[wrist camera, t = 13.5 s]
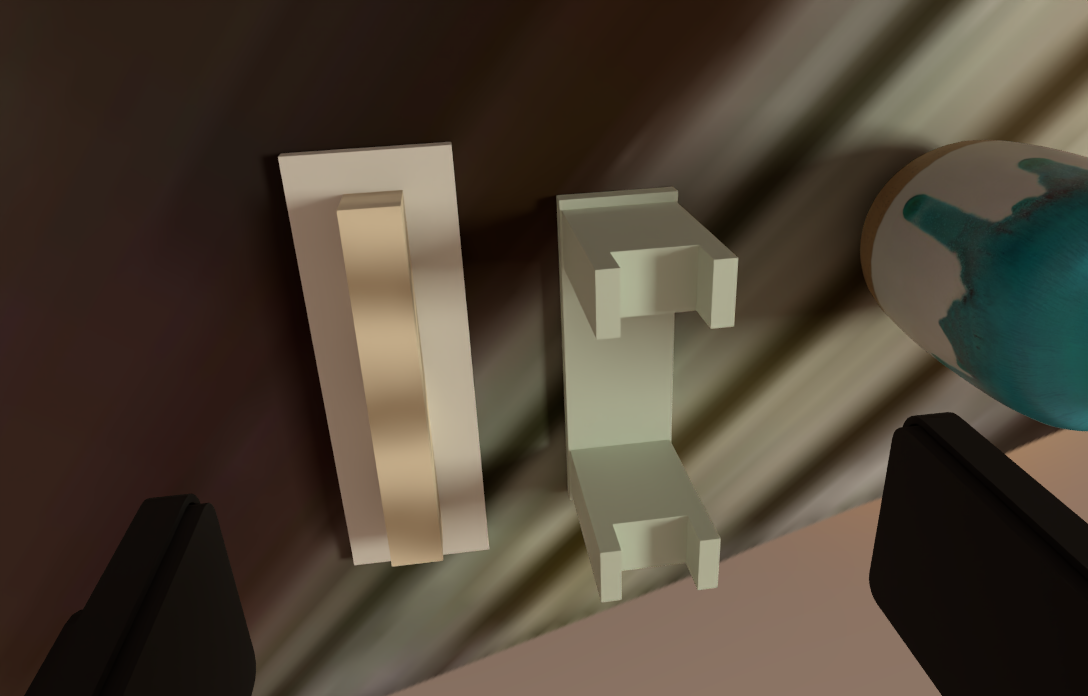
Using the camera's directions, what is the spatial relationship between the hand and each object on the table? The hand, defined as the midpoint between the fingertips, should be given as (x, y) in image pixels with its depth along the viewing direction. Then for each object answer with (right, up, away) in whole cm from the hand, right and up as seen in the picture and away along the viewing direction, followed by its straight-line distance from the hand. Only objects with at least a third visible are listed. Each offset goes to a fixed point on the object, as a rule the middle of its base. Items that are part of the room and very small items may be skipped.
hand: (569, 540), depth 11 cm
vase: (+20, +10, +32) cm, 39 cm away
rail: (-8, +1, +31) cm, 32 cm away
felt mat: (-8, +1, +32) cm, 33 cm away
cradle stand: (+4, +2, +33) cm, 33 cm away
